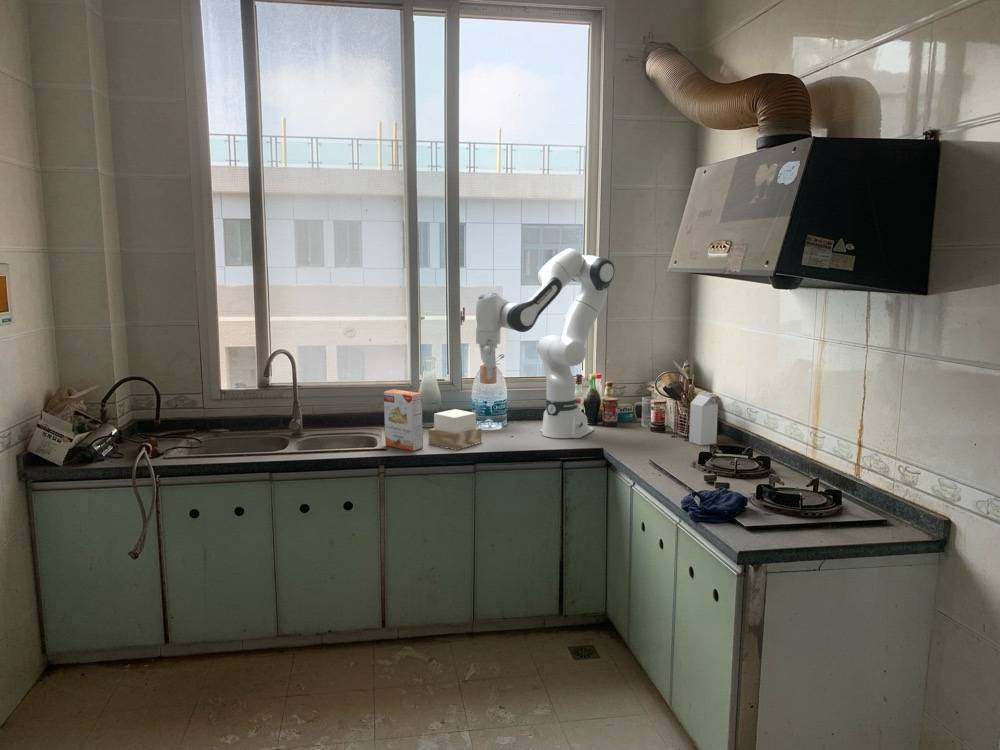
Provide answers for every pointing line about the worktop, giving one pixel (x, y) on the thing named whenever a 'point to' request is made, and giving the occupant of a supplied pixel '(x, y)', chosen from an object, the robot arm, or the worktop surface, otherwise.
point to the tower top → (455, 421)
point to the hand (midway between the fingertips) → (488, 376)
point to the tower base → (454, 438)
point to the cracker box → (403, 419)
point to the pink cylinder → (484, 379)
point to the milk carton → (703, 420)
